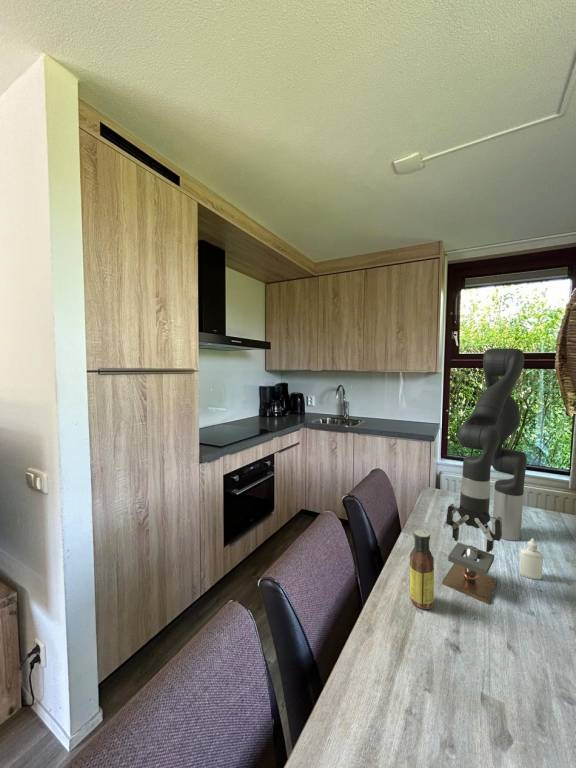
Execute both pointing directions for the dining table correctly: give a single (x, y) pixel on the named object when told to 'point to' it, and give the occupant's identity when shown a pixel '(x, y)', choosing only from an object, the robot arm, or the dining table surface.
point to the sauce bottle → (421, 571)
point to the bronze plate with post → (470, 579)
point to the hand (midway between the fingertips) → (471, 545)
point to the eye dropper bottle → (531, 561)
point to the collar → (479, 566)
